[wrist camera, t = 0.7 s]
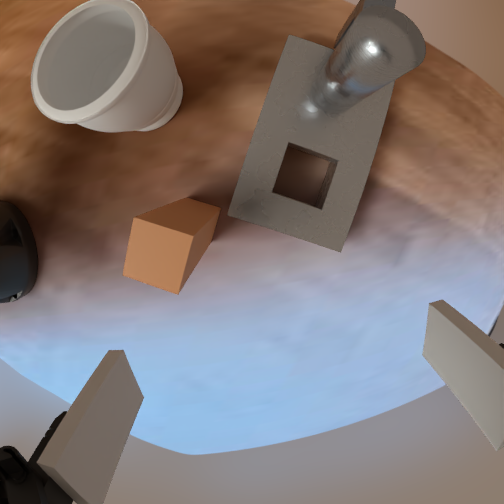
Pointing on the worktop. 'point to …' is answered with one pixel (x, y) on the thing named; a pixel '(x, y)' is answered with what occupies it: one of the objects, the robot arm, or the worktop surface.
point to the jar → (106, 70)
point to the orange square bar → (170, 243)
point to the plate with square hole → (327, 121)
